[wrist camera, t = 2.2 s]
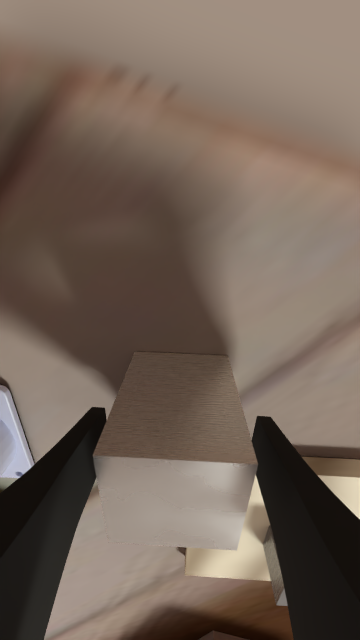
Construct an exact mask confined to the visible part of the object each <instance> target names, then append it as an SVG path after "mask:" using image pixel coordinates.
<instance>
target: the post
mask: <svg viewBox="0 0 360 640" xmlns="http://www.w3.org/2000/svg"><path fill="white" fill-rule="evenodd" d="M263 548H264V552H265V557H266V561H267V566H268V570H269V575H270V579H271V584H272V588H273V592H274V597H275V601H276V605H284V606H288V605H287V599H286V594H285V589H284V584H283V579H282V574H281V569H280V564H279V559H278V555H277V550H276V545H275V541H274V537H273V533H272V529H271V526H270V525H269V527H268V530H267V533H266V536H265V539H264V542H263Z"/></svg>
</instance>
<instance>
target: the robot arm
mask: <svg viewBox="0 0 360 640" xmlns="http://www.w3.org/2000/svg"><path fill="white" fill-rule="evenodd" d="M106 421H107V420H106V413H105V408H99V407H92V408H91V409H90V410H89V411H88V412H87V413H86V414H85V415H84V416H83V417H82V418H81V419H80V420H79V421H78V422H77V423H76V425H75V426H74V427H73V428H72V429H71V430H70V431H69V432H68V433H67V434H66V435H65V436H64V437H63V438H62V439H61V440H60V441H59V442H58V443H57V444H56V445H55V446H54V447H53V448H52V449H51V450H50V451H49V452H47V453H46V454H45V455H44V456H43V457H42V458H41V459H40V460H39V461H38V462H37V463H36V464H35V465H34V462H33V459H32V456H31V453H30V450H29V447H28V444H27V441H26V438H25V435H24V432H23V429H22V426H21V423H20V420H19V417H18V414H17V411H16V408H15V405H14V403H13V400H12V397H11V394H10V391H9V389H8V388H7V387H5V386H3V385H0V477H9V478H18V479H17V480H16V481H15V482H14V483H12V484H11V485H10V486H9V487H8V488H6V489H5V490H4V491H2V492H1V493H0V640H44V636H45V633H46V629H47V625H48V622H49V618H50V615H51V611H52V608H53V604H54V601H55V597H56V593H57V590H58V587H59V583H60V580H61V576H62V573H63V570H64V566H65V563H66V560H67V556H68V553H69V550H70V547H71V544H72V540H73V537H74V534H75V531H76V528H77V525H78V522H79V520H80V517H81V514H82V512H83V509H84V507H85V504H86V502H87V499H88V497H89V494H90V492H91V489H92V487H93V484H94V482H95V479H96V472H95V466H94V461H93V453H94V451H95V448H96V446H97V443H98V441H99V438H100V436H101V433H102V431H103V429H104V426H105V424H106ZM252 444H253V448H254V452H255V455H256V459H257V462H258V467H257V471H256V477H257V481H258V484H259V488H260V491H261V495H262V498H263V501H264V505H265V508H266V512H267V515H268V519H269V522H270V526H271V529H272V533H273V537H274V541H275V545H276V550H277V555H278V559H279V564H280V569H281V574H282V579H283V584H284V589H285V594H286V599H287V605H288V610H289V615H290V621H291V626H292V632H293V638H294V640H360V519H359V518H358V517H357V516H356V515H355V514H354V513H353V512H352V511H351V510H350V509H349V508H348V507H347V506H346V505H345V504H344V503H343V502H342V501H341V500H340V499H339V498H338V497H337V496H336V495H335V494H334V493H333V492H332V491H331V490H330V489H329V488H328V487H327V485H326V484H325V483H324V482H323V481H322V480H321V479H320V478H319V477H318V475H317V474H316V473H315V472H314V471H313V470H312V469H311V467H310V466H309V465H308V464H307V463H306V461H305V460H304V459H303V458H302V457H301V455H300V454H299V453H298V452H297V450H296V449H295V448H294V447H293V445H292V444H291V443H290V442H289V440H288V439H287V438H286V436H285V435H284V434H283V433H282V431H281V430H280V429H279V427H278V426H277V425H276V423H275V422H274V421H273V419H272V418H271V417H265V416H257V419H256V423H255V428H254V433H253V437H252Z"/></svg>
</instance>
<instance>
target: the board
mask: <svg viewBox="0 0 360 640" xmlns="http://www.w3.org/2000/svg"><path fill="white" fill-rule="evenodd" d="M302 458H303V459H304V460H305V461H306V463H307V464H308V465H309V466H310V467H311V469H312V470H313V471H314V472H315V473H316V474H317V475H318V477H319V478H320V479H321V480H322V481H323V482H324V483H325V484H326V485H327V487H328V488H329V489H330V490H331V491H332V492H333V493H334V494H335V495H336V496H337V497H338V498H339V499H340V500H341V501H342V502H343V503H344V504H345V505H346V506H347V507H348V508H349V509H350V510H351V511H352V512H353V513H354V514H355V515H356V516H357V517H358V518H359V519H360V460H358V459H339V458H320V457H302ZM269 525H270V522H269V519H268V515H267V512H266V508H265V505H264V501H263V498H262V495H261V491H260V488H259V484H258V481H257V477H256V475H255V479H254V483H253V487H252V491H251V495H250V499H249V503H248V507H247V512H246V516H245V520H244V524H243V528H242V532H241V536H240V540H239V544H238V548H237V551H236V550H220V549H204V548H189V547H186V551H185V575H189V576H204V577H219V578H235V579H250V580H265V581H271V579H270V575H269V570H268V566H267V561H266V557H265V552H264V548H263V542H264V539H265V536H266V533H267V530H268V527H269Z"/></svg>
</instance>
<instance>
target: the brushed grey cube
mask: <svg viewBox="0 0 360 640" xmlns="http://www.w3.org/2000/svg"><path fill="white" fill-rule="evenodd" d="M93 461H94V466H95V472H96V477H97V483H98V488H99V494H100V499H101V505H102V510H103V516H104V521H105V527H106V532H107V538H108V542H109V543H125V544H141V545H157V546H173V547H189V548H204V549H220V550H236V551H237V548H238V544H239V540H240V536H241V532H242V528H243V524H244V520H245V516H246V512H247V507H248V503H249V499H250V495H251V491H252V487H253V483H254V479H255V475H256V471H257V467H258V462H257V459H256V455H255V452H254V448H253V444H252V441H251V437H250V434H249V430H248V426H247V423H246V419H245V416H244V412H243V408H242V405H241V401H240V398H239V394H238V390H237V387H236V383H235V380H234V376H233V372H232V369H231V365H230V362H229V358H228V356H224V355H202V354H179V353H156V352H135V353H134V355H133V357H132V360H131V362H130V365H129V367H128V370H127V372H126V375H125V377H124V380H123V382H122V384H121V387H120V389H119V392H118V394H117V397H116V399H115V402H114V404H113V406H112V409H111V411H110V414H109V416H108V419H107V421H106V424H105V426H104V429H103V431H102V433H101V436H100V438H99V441H98V443H97V446H96V448H95V451H94V453H93Z"/></svg>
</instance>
